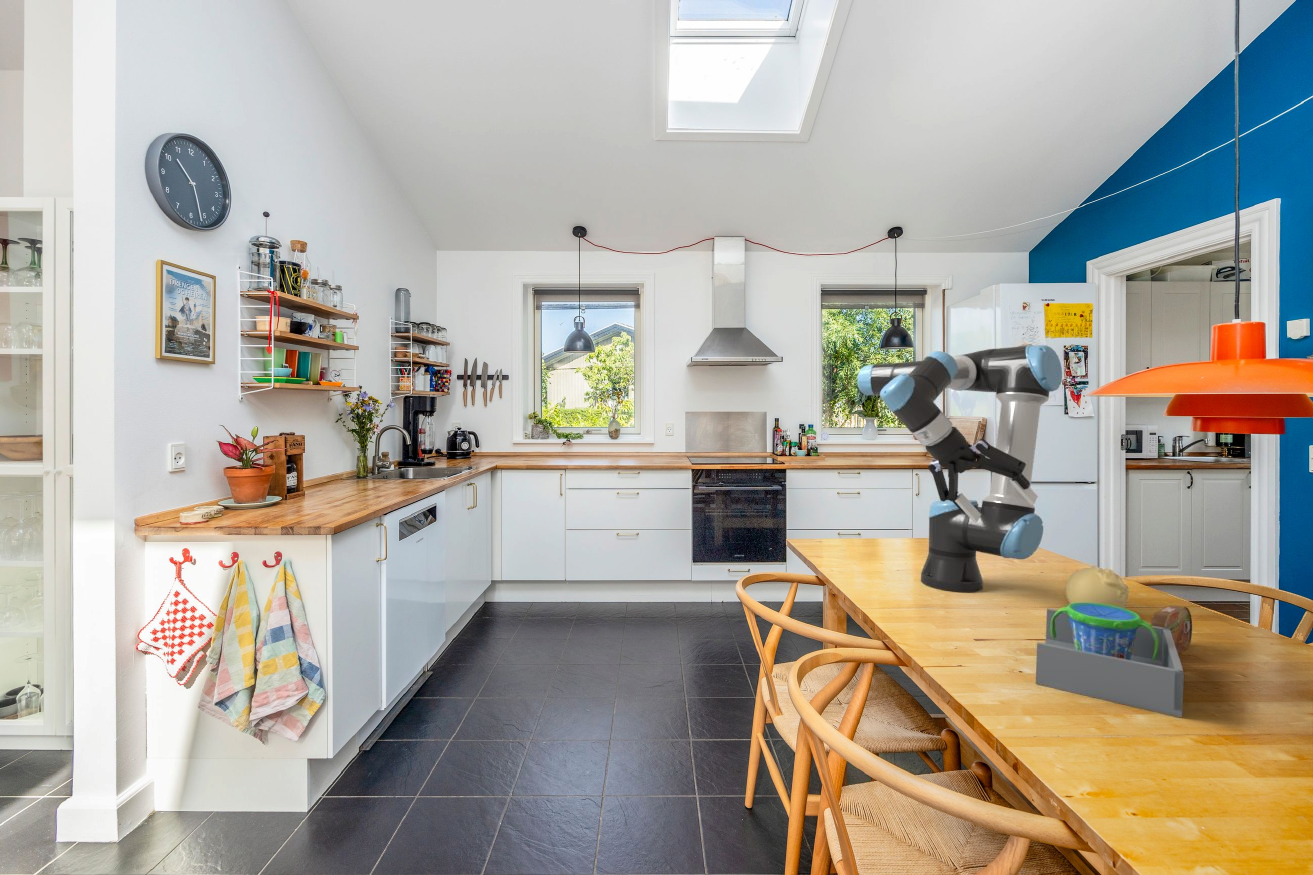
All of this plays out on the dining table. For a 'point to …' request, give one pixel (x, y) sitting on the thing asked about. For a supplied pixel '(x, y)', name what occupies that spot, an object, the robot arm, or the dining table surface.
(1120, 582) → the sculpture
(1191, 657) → the dining table surface
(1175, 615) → the tin
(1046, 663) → the bin
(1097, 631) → the snack cup
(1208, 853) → the dining table surface
